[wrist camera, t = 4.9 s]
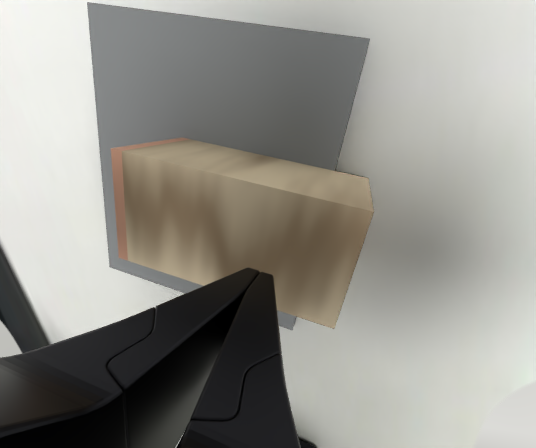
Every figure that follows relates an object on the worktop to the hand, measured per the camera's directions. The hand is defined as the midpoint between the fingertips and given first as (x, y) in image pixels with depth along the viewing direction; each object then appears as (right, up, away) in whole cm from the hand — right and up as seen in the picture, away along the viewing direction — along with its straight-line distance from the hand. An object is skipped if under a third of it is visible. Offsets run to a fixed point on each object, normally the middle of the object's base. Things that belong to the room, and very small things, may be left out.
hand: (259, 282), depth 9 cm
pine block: (+4, +1, +3) cm, 5 cm away
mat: (-3, +4, +8) cm, 9 cm away
